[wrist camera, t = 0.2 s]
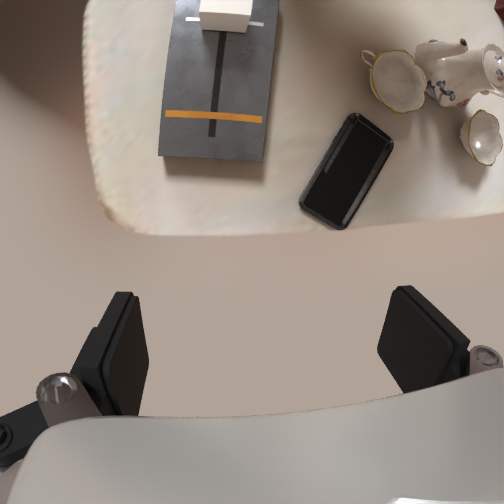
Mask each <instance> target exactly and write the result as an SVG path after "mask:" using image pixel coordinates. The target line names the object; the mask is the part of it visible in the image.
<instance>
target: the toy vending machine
mask: <svg viewBox="0 0 504 504" xmlns="http://www.w3.org/2000/svg"><path fill="white" fill-rule="evenodd" d="M494 9H495V11H496V12H497V13H498V14H499V15H500V17H501V18H502V19H503V20H504V0H496V3H495V7H494Z"/></svg>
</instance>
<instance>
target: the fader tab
mask: <svg viewBox="0 0 504 504" xmlns="http://www.w3.org/2000/svg"><path fill="white" fill-rule="evenodd" d="M252 2H253V0H201V2H200V8H199V16H200V23H201V30H218V31H231V32H242V33H245V32H246V29H247V26H248V23H249V20H250V16H251V10H252Z"/></svg>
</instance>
